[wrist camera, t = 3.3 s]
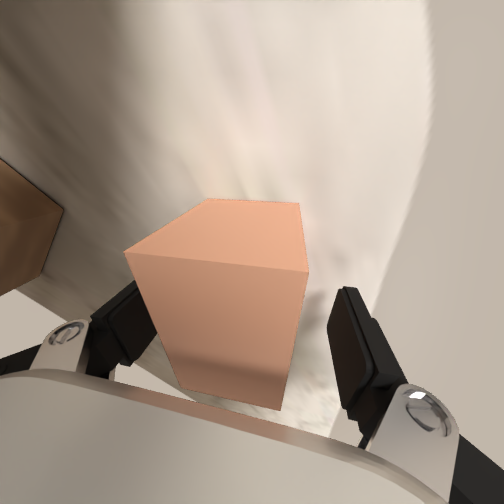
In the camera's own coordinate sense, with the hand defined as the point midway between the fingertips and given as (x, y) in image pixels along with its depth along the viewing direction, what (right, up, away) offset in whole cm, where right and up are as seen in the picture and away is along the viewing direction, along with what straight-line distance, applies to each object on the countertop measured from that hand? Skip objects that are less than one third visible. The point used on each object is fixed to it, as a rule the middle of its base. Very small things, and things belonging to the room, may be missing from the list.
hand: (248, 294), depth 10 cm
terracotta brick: (0, +2, +2) cm, 2 cm away
